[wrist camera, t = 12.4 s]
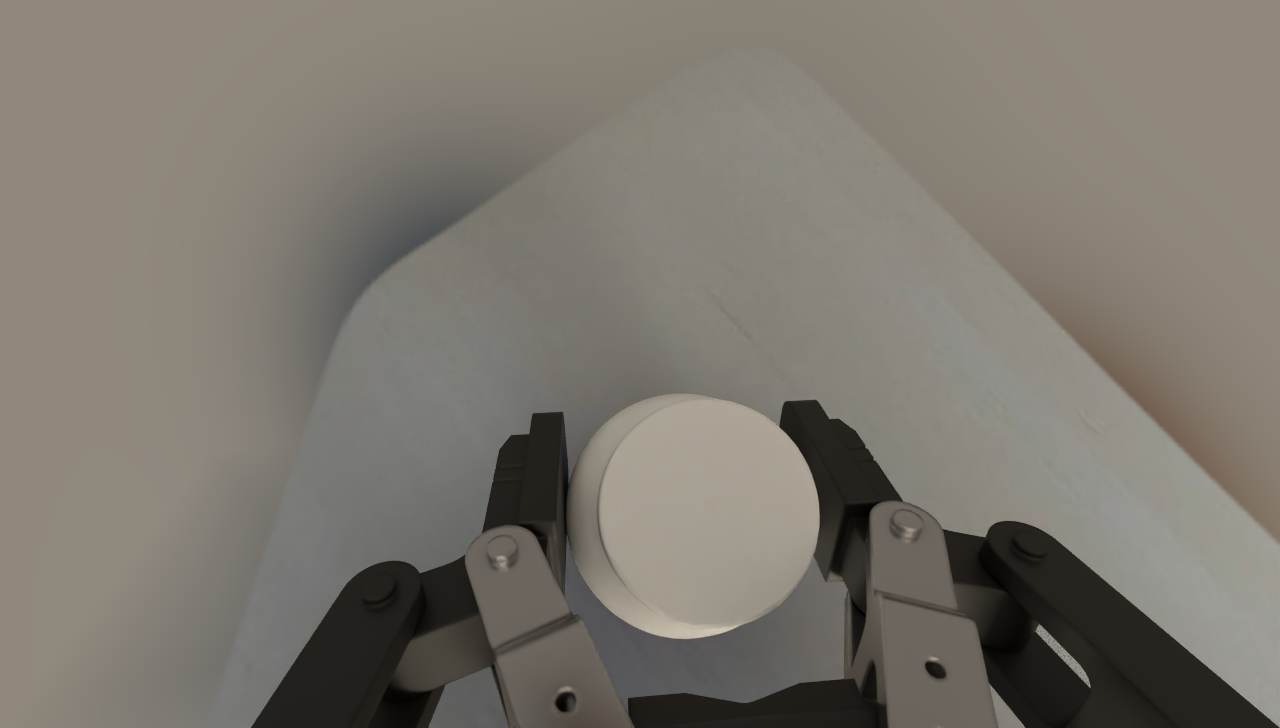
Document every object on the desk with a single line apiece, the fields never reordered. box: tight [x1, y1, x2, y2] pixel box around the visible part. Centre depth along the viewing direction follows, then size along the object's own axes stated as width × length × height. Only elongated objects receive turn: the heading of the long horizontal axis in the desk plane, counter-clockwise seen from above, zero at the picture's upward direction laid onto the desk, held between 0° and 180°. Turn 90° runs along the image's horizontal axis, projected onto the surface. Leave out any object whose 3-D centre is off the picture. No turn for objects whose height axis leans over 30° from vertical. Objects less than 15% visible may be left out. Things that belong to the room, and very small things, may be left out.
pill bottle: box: [566, 394, 820, 639], centre depth 14 cm, size 6×5×10 cm
